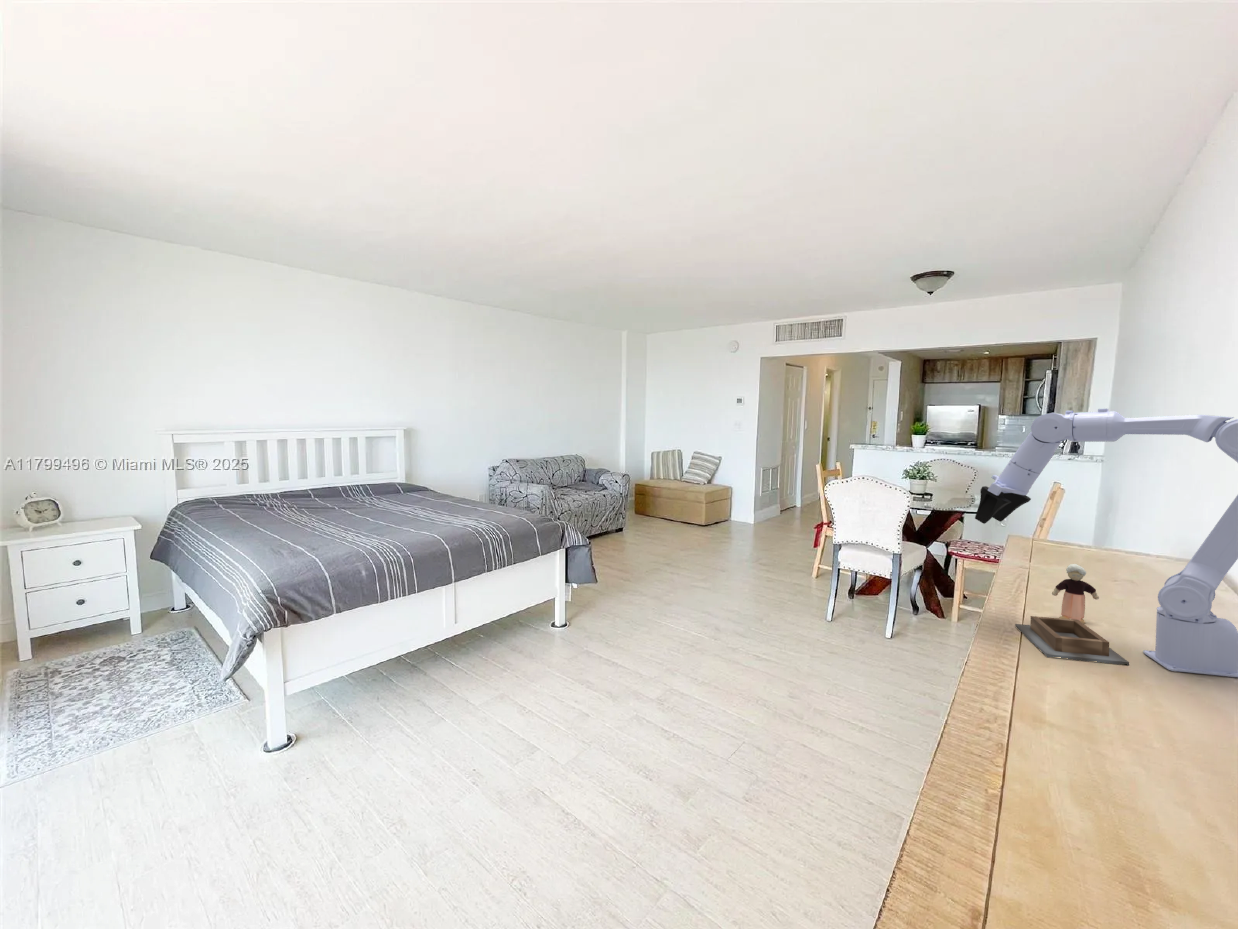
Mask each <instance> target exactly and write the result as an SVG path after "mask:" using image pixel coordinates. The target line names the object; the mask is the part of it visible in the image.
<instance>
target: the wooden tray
mask: <svg viewBox="0 0 1238 929" xmlns="http://www.w3.org/2000/svg"><path fill="white" fill-rule="evenodd" d="M1029 622H1030V624H1021V623H1020V624H1019V623H1015V624H1014V625H1015V626H1016V627H1017V628H1018V629H1019V630H1020V631H1021V632H1022V633H1023V634H1024V637H1026V639H1027V640H1029V642H1030V643H1032V644H1033V643H1034V644H1035V645H1034V644H1033V645H1034V646H1035V647H1036V648H1037V647H1038V648H1039V649H1040V650H1041V651H1042V652H1043V653H1044V654H1045V655H1046V656H1047V657H1046V656H1045V655H1044V654H1043V653H1042V652H1041V651H1040V650H1039V649H1038V648H1037V649H1038V650H1039V651H1040V652H1041V653H1042V654H1043V655H1044V656H1045V657H1046V658H1049V657H1061V658H1068V659H1067V660H1069V659H1073V660H1072V661H1079V660H1081V662H1089V661H1097V662H1096V663H1099V662H1102V664H1109V663H1112V665H1119V664H1127V665H1126V666H1130V662H1129V661H1128V660H1127V659H1125V658H1124V657H1123V656H1121V654H1119V653H1117V652H1116V651H1115V650H1113V649H1112V648H1111V647H1110V641H1108V640H1107V639H1106V638H1104V637H1103V636H1101V635H1099V633H1097V632H1096V631H1094V630H1093V628H1090V627H1089V626H1087V625H1086V623H1085V624H1083V623H1082V622H1080V621H1079V620H1075V619H1062V618H1060V617H1047V616H1036V615H1035V616H1033V615H1030V621H1029ZM1015 626H1014V627H1015ZM1016 627H1015V628H1016ZM1017 628H1016V629H1017ZM1018 629H1017V630H1018ZM1019 630H1018V631H1019ZM1020 631H1019V632H1020ZM1021 632H1020V633H1021ZM1022 633H1021V634H1022ZM1023 634H1022V635H1023ZM1103 662H1104V663H1103Z"/></svg>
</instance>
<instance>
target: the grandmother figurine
mask: <svg viewBox="0 0 1238 929" xmlns="http://www.w3.org/2000/svg"><path fill="white" fill-rule="evenodd" d="M1065 569H1066V570H1065V571H1066V574H1067V576H1068V578H1064V579H1063V580H1062V581H1060V582H1059V583H1058V584H1056V586H1055V587H1054V589H1053V590H1052V592H1051V594H1052V596H1053V597H1054V596H1055V597H1057V596H1058V595H1059V593H1060V592H1061V591H1064V592H1063V597H1062V603H1061V609H1060V610H1061V612H1060V615H1061V616H1060V617H1059V618H1062V619H1075V620H1079V621H1080V622H1082V623H1083V624H1085V625H1086V624H1087V623H1086V621H1085V619H1084V618H1085V614H1086V612H1085V611H1086V595H1085V593H1088V594H1090V596H1092V599H1093V600H1099V599H1100V597H1099V595H1098V593H1097V589H1096V588H1094V586H1093V585H1091V584H1090V583H1088V582H1086V581H1083V580H1082V579H1083V578H1084V577H1085V576H1086V575H1087V571H1086V569H1085V568H1084V567H1083V566H1081V565H1078V564H1077V563H1070V564H1069V565H1068V566H1067V567H1066V568H1065Z"/></svg>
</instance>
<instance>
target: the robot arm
mask: <svg viewBox="0 0 1238 929" xmlns="http://www.w3.org/2000/svg"><path fill="white" fill-rule="evenodd" d="M1030 430H1031V431H1030V432H1029V433H1028V434H1027V436H1026V437H1025V439H1024V440H1023V441H1022V442H1021V444H1020V445H1019V446H1018V448H1017V450H1016V451H1014V452H1015V453H1014V454H1013V455H1012V457H1011V458H1010V460H1009V462H1007V464H1006V466H1005V467H1004V469H1003V470H1002V471H1001V473H1000V475H997V474H992V475H991V479H992V480H994V482H992V483H991V484H990V486H989V487H988V486H987V485H985V486H982V487H981V488H980V497H979V498H980V500H979V503H978V507H977V510H976V513H975V516H974V519H975V520H976V521H978V522H980V523H982V524H983V525H985V524H986V523H988V522H989V521H990V520H991V519H995V520H996V521H998V522H1000V523H1001V522H1002V521H1005V519H1006V518H1008V516H1010V515H1011V514H1012V513H1013V512H1014V511H1015V510H1017V509H1018V508H1020V507H1021V506H1023V505H1025V504H1027V503H1029V502H1031V500H1032V498H1031V497H1030V496H1027V495H1028V493H1030V490H1031V488H1032V486H1033V485H1034V483H1035V482H1036V480H1037V479H1038V478H1039V476H1040V475H1041V473H1042V472H1043V471H1044V469H1045V468H1046V466H1047V465H1048V464H1049V462H1050V461H1051V459H1052V458H1053V457H1054V455H1055V452H1056V450H1057V449H1058V448H1059V447H1060V446H1061V444H1062V442H1063V441H1066V440H1068V441H1070V442H1072V443H1075V442H1077V443H1080V442H1081V443H1082V442H1083V443H1086V442H1089V443H1091V442H1093V443H1095V442H1096V443H1097V442H1099V443H1101V442H1102V443H1103V442H1105V443H1109V442H1110V443H1112V442H1116V441H1119V439H1121V438H1122V437H1123V436H1125V435H1162V436H1163V435H1165V436H1166V435H1168V436H1170V435H1171V436H1172V435H1173V436H1174V435H1177V436H1179V435H1180V436H1181V435H1185V436H1188V437H1192V438H1194V439H1197V440H1199V441H1203V442H1204V443H1209V442H1211V441H1212V440H1213V438H1214V439H1215V444H1216V445H1217V447H1218V449H1220V450H1221V452H1222V453H1223V452H1224V454H1226V456H1228V457H1229V458H1231V459H1232V460H1234V461H1235V462H1237V464H1238V418H1235V417H1234V416H1223V415H1210V414H1186V415H1185V414H1184V415H1183V414H1182V415H1164V416H1144V417H1143V416H1142V417H1125V416H1123V415H1122V414H1121V413H1120V412H1118V411H1116V410H1109V408H1108V407H1107V408H1105V407H1104V408H1098V409H1097V411H1087V412H1085V411H1084V412H1074V410H1065V412H1064V413H1063V414H1062V413H1057V412H1049V413H1044V414H1041V415H1038V416H1037V417H1036V418H1035V419H1034V420H1033V421H1032V423H1031V425H1030ZM1237 561H1238V494H1237V495H1236V496H1235V498H1234V499H1233V500H1232V501H1231V503H1230V505H1229V506H1228V507H1227V509H1226V510H1225V512H1224V513H1223V514H1222V515H1221V517H1220V519H1219V520H1218V521H1217V523H1216V524H1215V525H1214V527H1213V528H1212V530H1211V531H1210V532H1209V534H1208V535H1207V537H1205V539H1204V540H1203V542H1202V544H1200V546H1199V548H1198V549H1197V551H1196V552H1195V553H1194V555H1192V557H1191V559H1190V560H1189V561H1188V562H1187V564H1186V565H1185V567H1183V569H1182V570H1181V571H1180V572H1178V573H1176V574H1174V575H1171V576H1169V577H1168V578H1167V579H1166V580H1165V582H1164V585H1163V586H1162V588H1160V590H1159V591H1158V594H1157V601H1158V603H1159V606H1157V607H1156V621H1155V622H1156V623H1155V645H1154V646H1155V649H1154V650H1148V649H1147V650H1146V649H1144V650H1143V651H1142V653H1143V654H1145V656H1147V657H1149V658H1151V659H1152V660H1153V661H1155V662H1156V663H1157V664H1158V665H1161V666H1162V667H1164V668H1165V669H1167V670H1168V671H1172V672H1181V673H1189V674H1201V675H1210V676H1220V677H1221V676H1222V677H1230V678H1231V677H1232V678H1238V629H1237V627H1236V625H1235V624H1234V623H1233V622H1231V621H1230V620H1228V619H1226V618H1223V617H1218V616H1217V615H1216V614H1214V612H1213V611H1211V610H1212V608H1213V605H1212V604H1213V602H1214V600H1215V598H1216V590H1217V589H1218V587H1219V586H1220V585H1221V582H1222V581H1223V579H1224V578H1225V576H1226V575H1227V574H1228V572H1229V571H1230V570H1231V569H1232V567H1233V566H1234V564H1235V563H1236V562H1237Z"/></svg>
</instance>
